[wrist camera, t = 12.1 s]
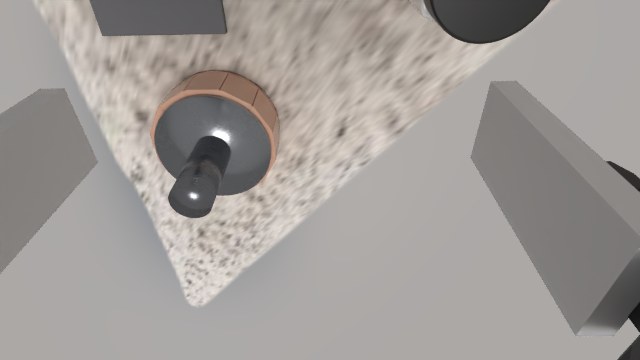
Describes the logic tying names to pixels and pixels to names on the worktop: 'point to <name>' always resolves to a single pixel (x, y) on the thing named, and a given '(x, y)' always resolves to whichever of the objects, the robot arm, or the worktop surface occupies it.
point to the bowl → (232, 89)
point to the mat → (159, 17)
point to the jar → (480, 17)
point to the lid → (210, 150)
